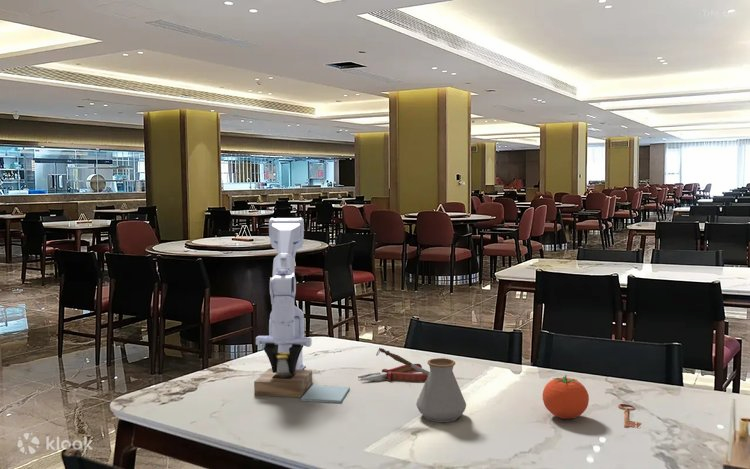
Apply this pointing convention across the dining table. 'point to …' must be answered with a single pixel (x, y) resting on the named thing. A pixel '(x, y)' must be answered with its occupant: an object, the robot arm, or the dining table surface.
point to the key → (626, 421)
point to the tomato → (565, 397)
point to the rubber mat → (325, 394)
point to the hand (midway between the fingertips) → (284, 372)
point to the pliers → (396, 374)
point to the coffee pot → (437, 390)
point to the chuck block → (283, 384)
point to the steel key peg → (283, 365)
